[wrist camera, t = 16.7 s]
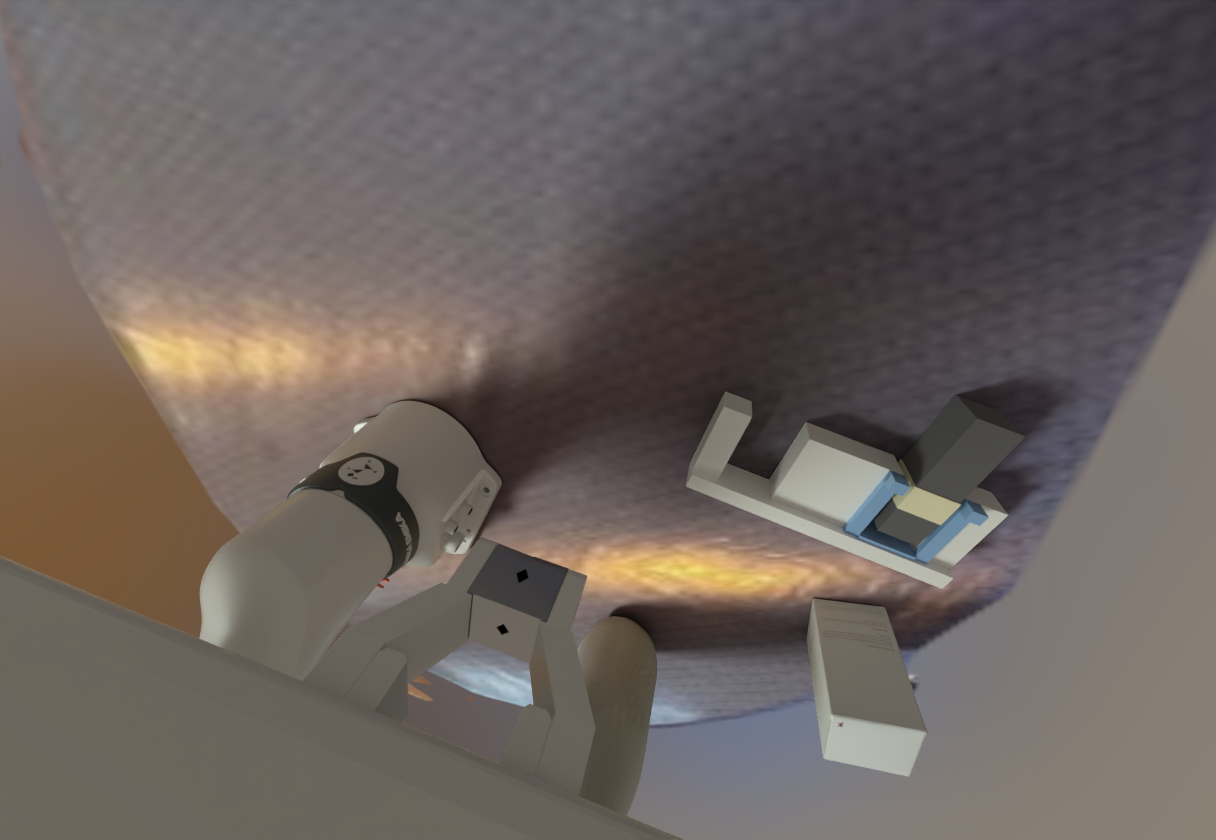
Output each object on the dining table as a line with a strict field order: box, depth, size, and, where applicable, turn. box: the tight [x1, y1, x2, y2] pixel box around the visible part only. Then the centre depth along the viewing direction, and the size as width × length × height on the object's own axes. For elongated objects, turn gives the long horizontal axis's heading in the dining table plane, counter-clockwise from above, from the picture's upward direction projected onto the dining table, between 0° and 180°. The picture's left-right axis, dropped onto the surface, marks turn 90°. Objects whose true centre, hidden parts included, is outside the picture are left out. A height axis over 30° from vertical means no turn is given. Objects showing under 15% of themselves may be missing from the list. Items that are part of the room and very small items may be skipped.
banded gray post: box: [873, 395, 1026, 546], centre depth 37 cm, size 12×4×4 cm, turn 164°
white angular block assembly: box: [686, 391, 1008, 589], centre depth 40 cm, size 8×24×5 cm, turn 74°
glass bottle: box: [577, 616, 657, 816], centre depth 48 cm, size 10×10×28 cm
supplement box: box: [806, 599, 928, 777], centre depth 45 cm, size 7×7×13 cm
